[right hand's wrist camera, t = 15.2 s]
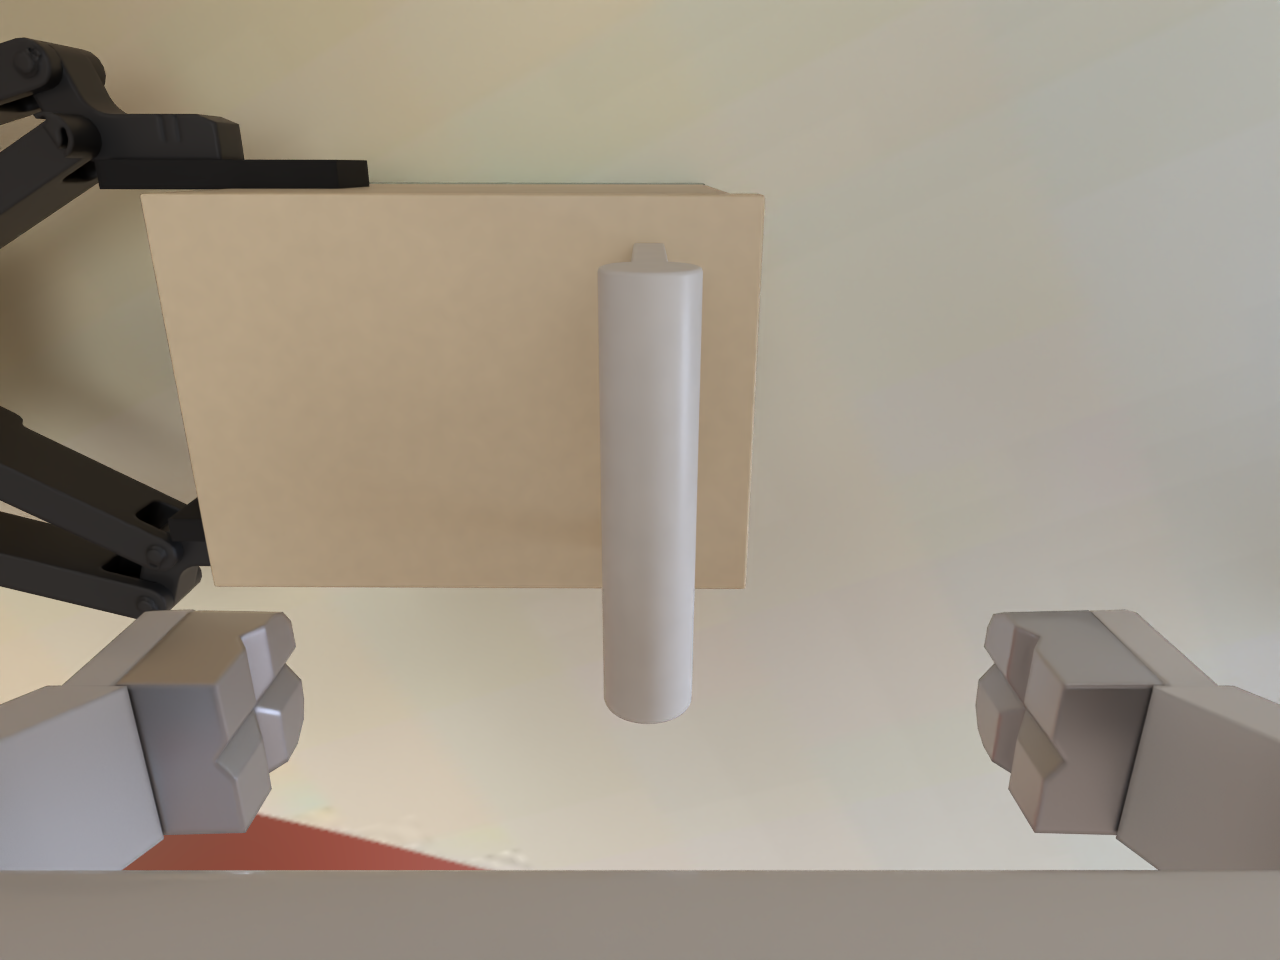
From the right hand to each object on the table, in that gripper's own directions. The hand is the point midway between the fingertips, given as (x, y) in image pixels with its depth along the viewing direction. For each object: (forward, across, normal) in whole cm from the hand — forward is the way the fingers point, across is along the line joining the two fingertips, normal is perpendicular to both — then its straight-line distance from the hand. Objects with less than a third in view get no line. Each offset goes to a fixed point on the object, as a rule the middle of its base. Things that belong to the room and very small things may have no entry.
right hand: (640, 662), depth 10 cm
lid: (+12, +4, 0) cm, 13 cm away
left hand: (+17, +8, 0) cm, 19 cm away
